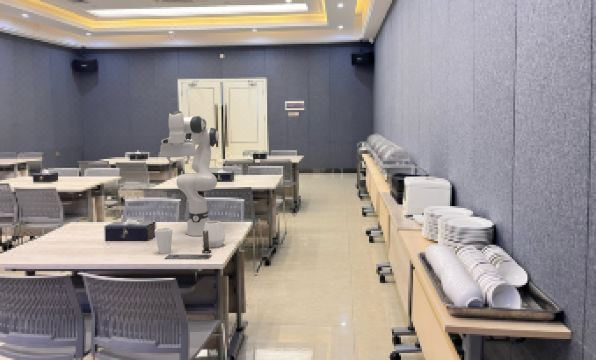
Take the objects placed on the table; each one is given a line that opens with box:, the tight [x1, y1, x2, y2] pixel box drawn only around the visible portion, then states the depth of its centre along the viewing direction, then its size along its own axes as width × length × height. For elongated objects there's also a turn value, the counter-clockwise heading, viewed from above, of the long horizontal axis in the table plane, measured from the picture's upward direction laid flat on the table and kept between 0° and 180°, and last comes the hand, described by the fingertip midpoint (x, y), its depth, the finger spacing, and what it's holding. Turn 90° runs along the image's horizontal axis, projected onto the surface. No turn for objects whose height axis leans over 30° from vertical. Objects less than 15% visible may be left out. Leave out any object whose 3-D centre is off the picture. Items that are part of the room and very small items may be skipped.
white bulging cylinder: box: [201, 220, 226, 249], centre depth 303 cm, size 13×13×14 cm
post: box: [201, 231, 212, 255], centre depth 288 cm, size 5×5×12 cm
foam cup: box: [154, 227, 173, 255], centre depth 291 cm, size 10×9×13 cm
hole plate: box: [164, 253, 213, 260], centre depth 280 cm, size 7×24×1 cm, turn 83°
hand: (178, 164), depth 299 cm, fingers open, 8 cm apart
